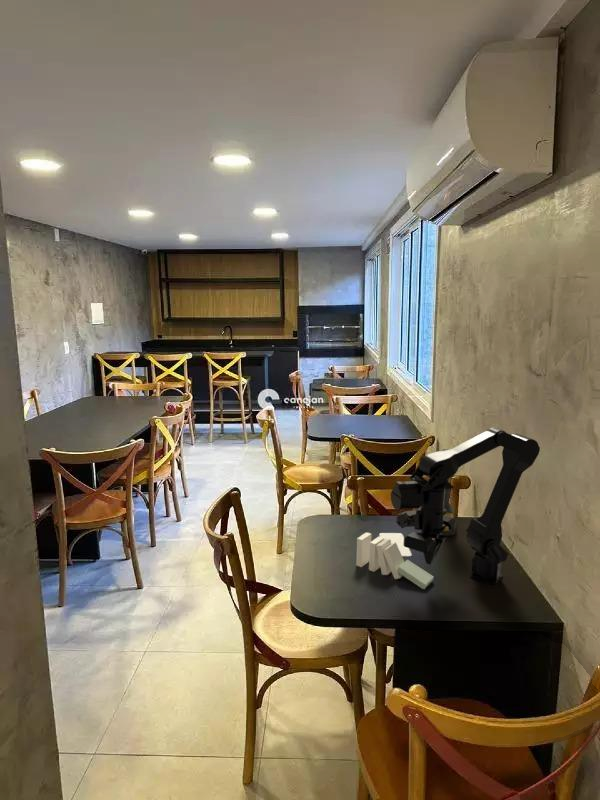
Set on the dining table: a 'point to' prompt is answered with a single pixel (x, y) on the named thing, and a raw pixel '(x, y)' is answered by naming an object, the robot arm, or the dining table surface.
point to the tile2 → (393, 559)
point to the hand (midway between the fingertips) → (428, 563)
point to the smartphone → (397, 542)
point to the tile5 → (363, 549)
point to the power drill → (448, 509)
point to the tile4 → (374, 554)
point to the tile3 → (383, 556)
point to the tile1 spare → (415, 574)
